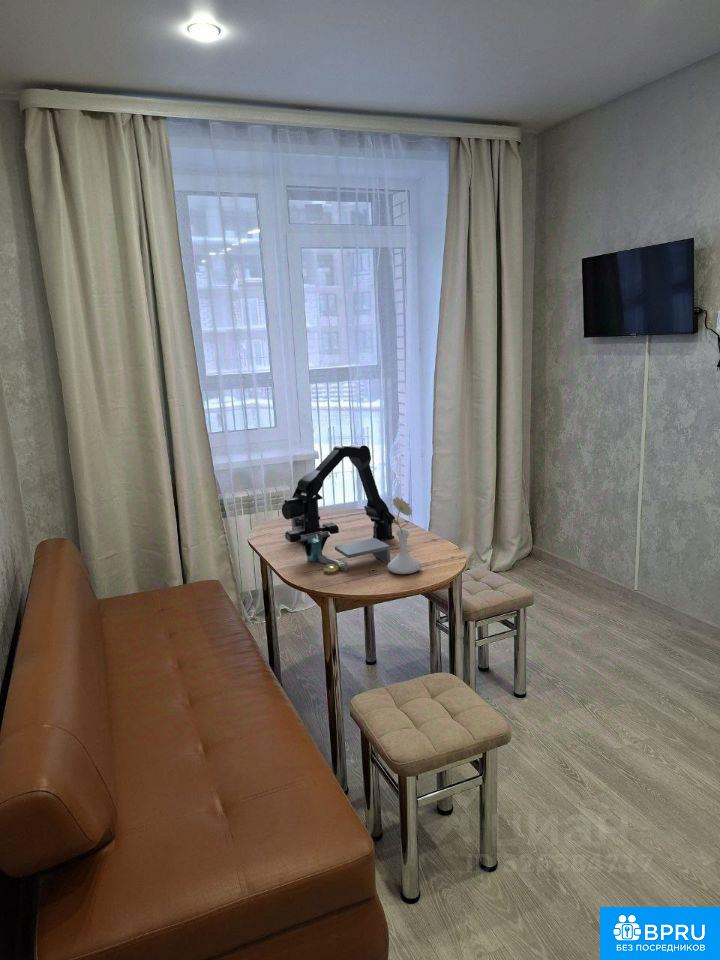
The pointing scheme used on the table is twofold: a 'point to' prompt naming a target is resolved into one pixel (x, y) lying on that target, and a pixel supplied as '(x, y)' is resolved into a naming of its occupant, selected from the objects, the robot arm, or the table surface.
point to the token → (331, 569)
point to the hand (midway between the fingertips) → (313, 554)
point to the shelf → (366, 549)
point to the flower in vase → (403, 545)
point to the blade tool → (316, 555)
